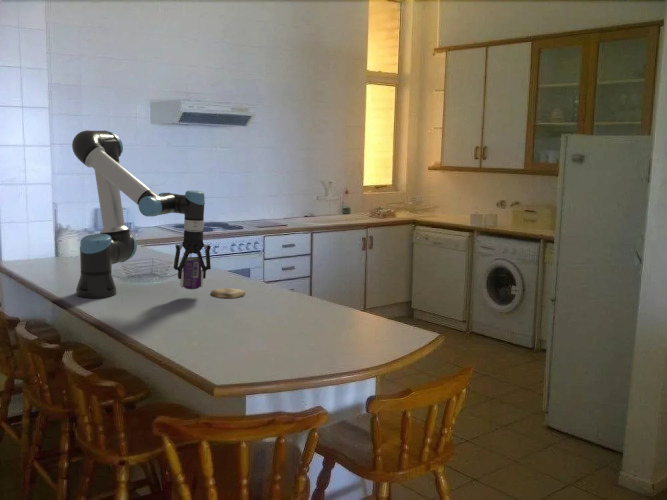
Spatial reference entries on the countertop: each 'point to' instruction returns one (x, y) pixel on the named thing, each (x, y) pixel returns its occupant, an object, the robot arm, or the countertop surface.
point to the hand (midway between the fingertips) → (191, 286)
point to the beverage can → (192, 273)
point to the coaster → (227, 293)
